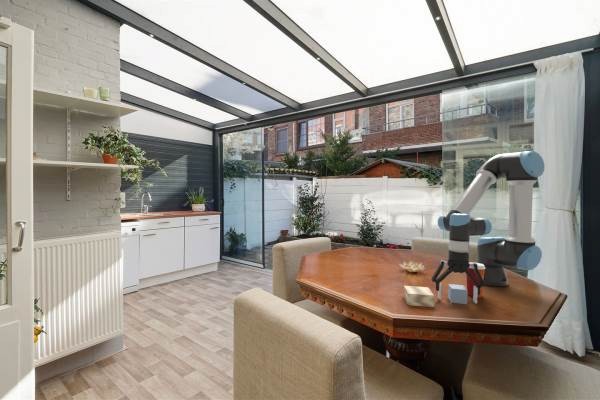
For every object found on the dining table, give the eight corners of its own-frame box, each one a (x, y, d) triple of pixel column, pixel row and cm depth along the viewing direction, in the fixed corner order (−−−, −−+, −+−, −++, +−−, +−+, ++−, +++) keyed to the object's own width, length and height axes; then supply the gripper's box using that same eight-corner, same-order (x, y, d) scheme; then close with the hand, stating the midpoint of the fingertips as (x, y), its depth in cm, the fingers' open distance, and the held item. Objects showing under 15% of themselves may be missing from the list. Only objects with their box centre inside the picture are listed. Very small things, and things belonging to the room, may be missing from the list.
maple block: (427, 298, 128) (428, 287, 128) (434, 307, 118) (434, 295, 118) (403, 296, 130) (404, 285, 130) (407, 305, 120) (408, 293, 120)
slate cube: (463, 299, 128) (463, 285, 127) (466, 304, 122) (467, 290, 122) (448, 297, 129) (448, 284, 129) (450, 302, 123) (451, 288, 123)
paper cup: (484, 299, 127) (485, 267, 127) (464, 295, 131) (465, 264, 131) (484, 294, 134) (485, 263, 133) (465, 290, 138) (466, 261, 137)
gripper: (489, 250, 125) (487, 300, 126) (425, 246, 132) (424, 293, 133) (495, 254, 118) (493, 307, 118) (427, 249, 125) (426, 299, 125)
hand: (456, 300), depth 125 cm, fingers open, 13 cm apart
